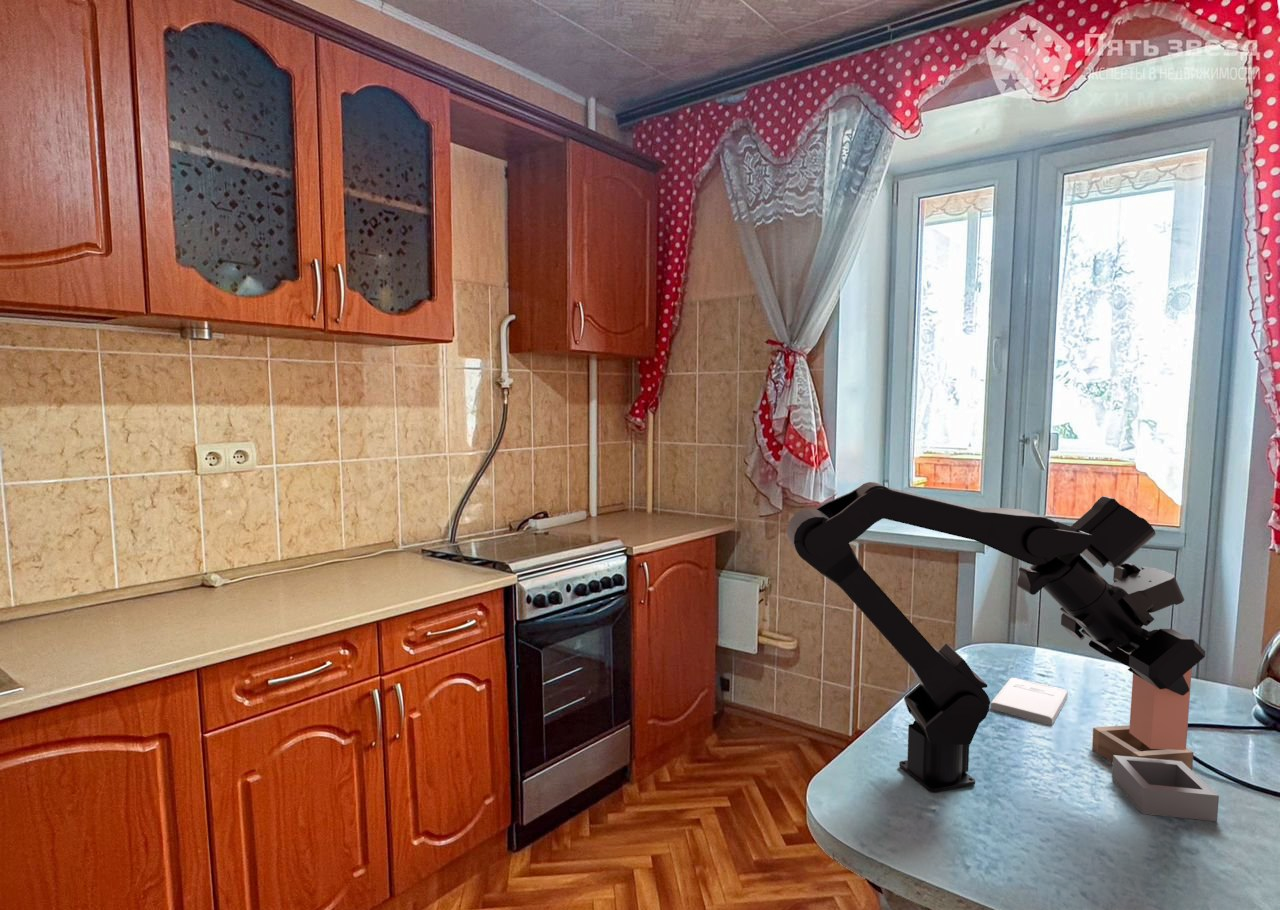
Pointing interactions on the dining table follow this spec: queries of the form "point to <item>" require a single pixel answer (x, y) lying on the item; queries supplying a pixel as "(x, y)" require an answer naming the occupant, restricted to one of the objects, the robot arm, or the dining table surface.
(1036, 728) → the dining table surface
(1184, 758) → the walnut socket
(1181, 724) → the peg
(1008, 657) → the dining table surface
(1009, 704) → the external hard drive
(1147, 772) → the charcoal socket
